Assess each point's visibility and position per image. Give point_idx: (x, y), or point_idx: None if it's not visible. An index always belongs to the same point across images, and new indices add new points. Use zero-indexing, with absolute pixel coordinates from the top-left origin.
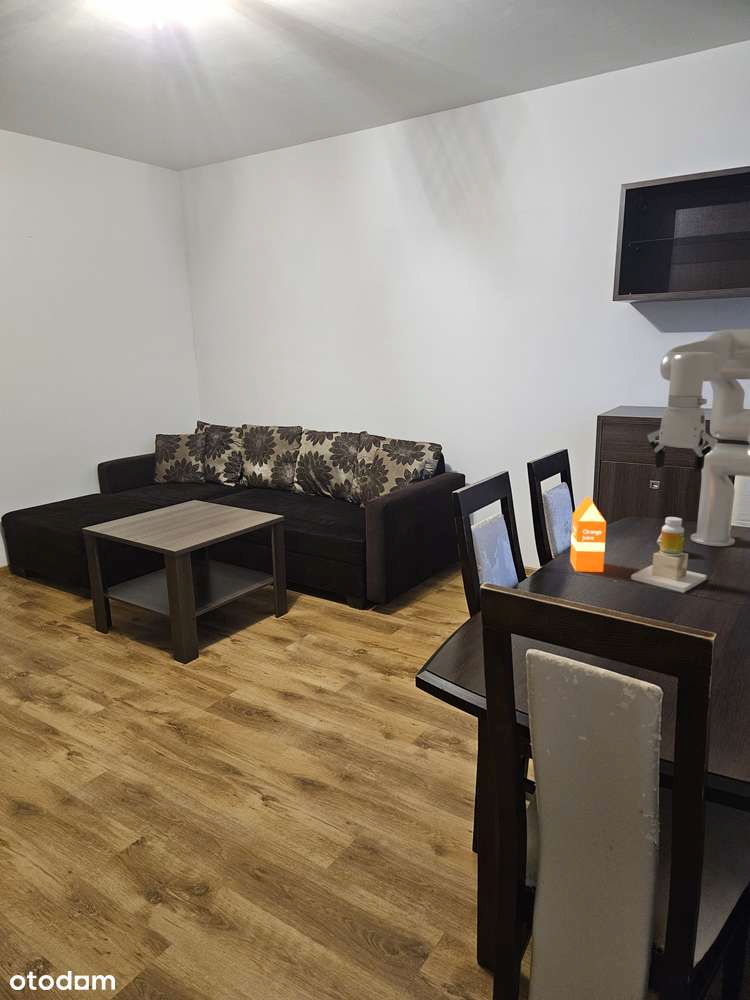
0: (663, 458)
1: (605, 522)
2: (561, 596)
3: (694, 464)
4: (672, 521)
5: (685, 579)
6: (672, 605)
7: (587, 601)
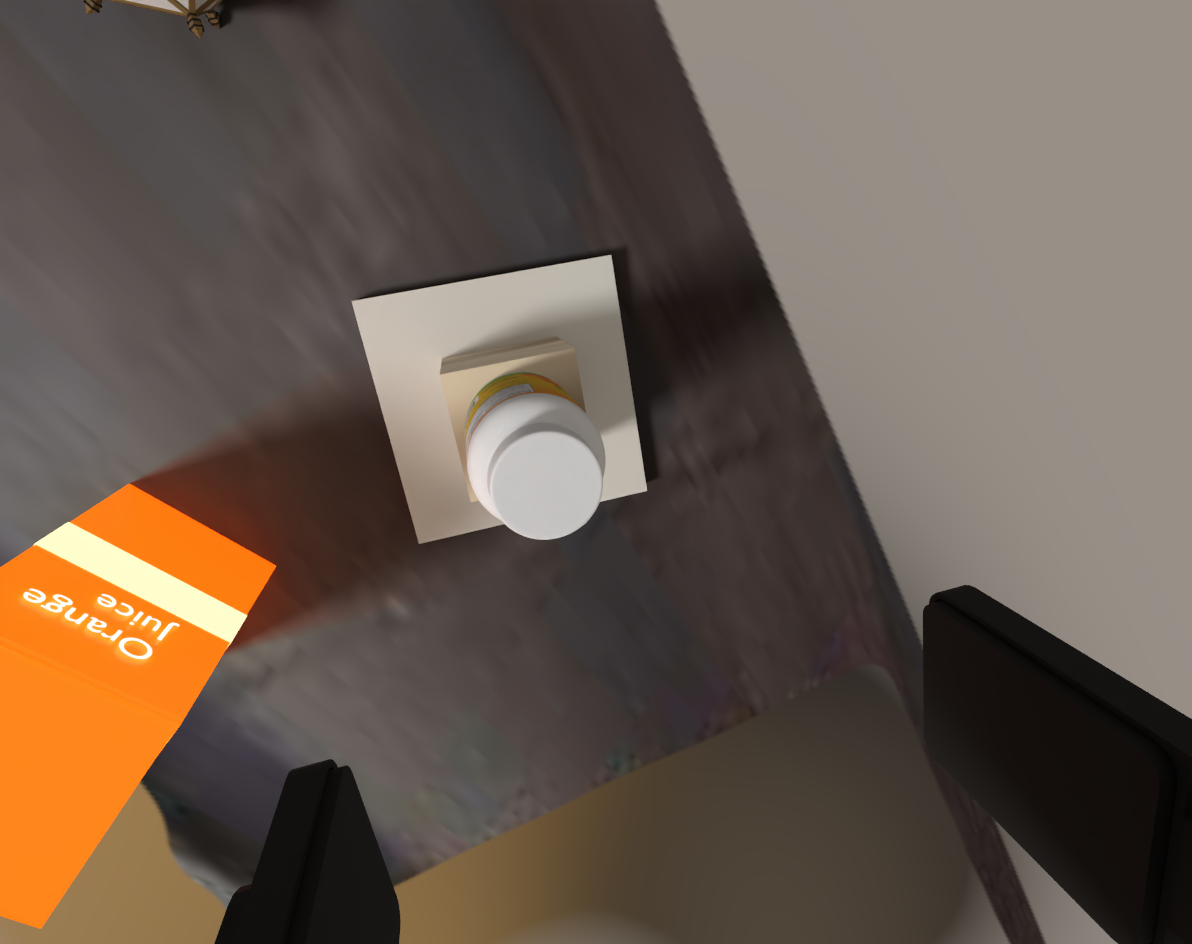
0: (334, 935)
1: (178, 726)
2: (419, 865)
3: (1008, 831)
4: (569, 530)
5: (589, 393)
6: (687, 618)
7: (501, 822)
